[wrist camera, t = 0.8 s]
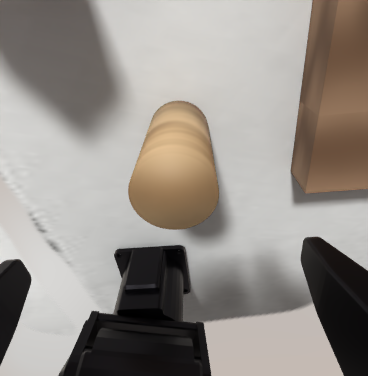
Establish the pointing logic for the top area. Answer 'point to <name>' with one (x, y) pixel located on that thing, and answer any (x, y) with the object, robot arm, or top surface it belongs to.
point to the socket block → (334, 100)
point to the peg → (175, 169)
